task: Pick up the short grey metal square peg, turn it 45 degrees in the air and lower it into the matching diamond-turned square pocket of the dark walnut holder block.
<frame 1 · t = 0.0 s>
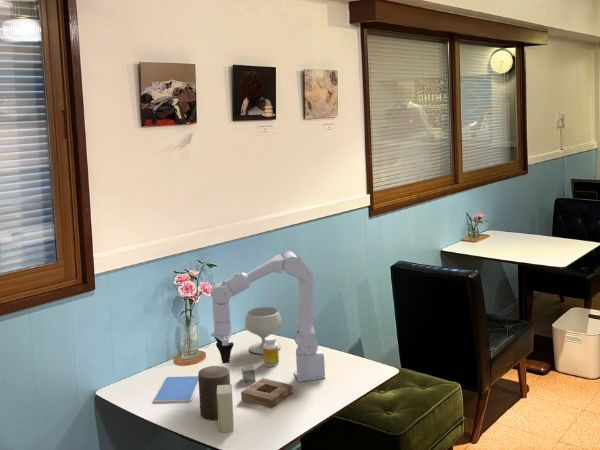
hand: (224, 358, 220), 10 cm above the table, tool pointing down, fingers open, 7 cm apart
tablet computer: (178, 391, 222), on the table
holder: (267, 397, 213), on the table
peg: (248, 380, 226), on the table
skincare box: (226, 427, 194), on the table
pillar candle: (216, 413, 204), on the table
supplement bottle: (271, 364, 240), on the table
chalice: (264, 349, 254), on the table
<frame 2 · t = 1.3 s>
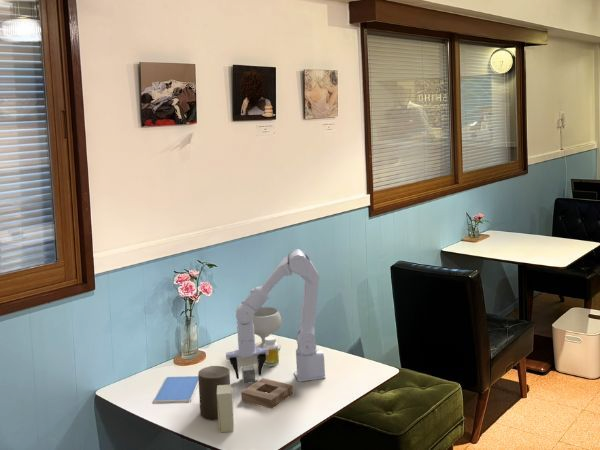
hand: (248, 376, 226), 1 cm above the table, tool pointing down, fingers open, 7 cm apart
nothing on the table moved.
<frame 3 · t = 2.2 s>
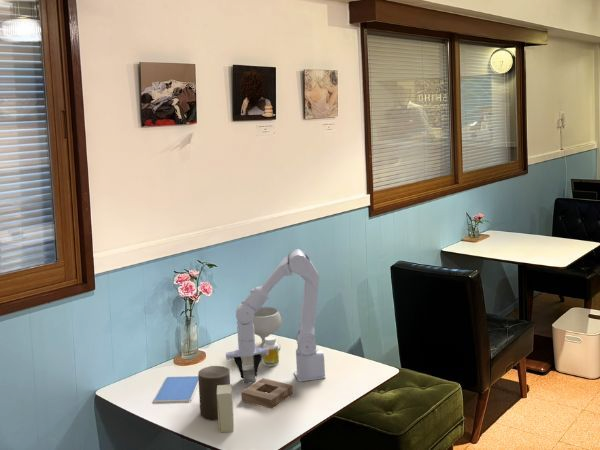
hand: (248, 376, 226), 1 cm above the table, tool pointing down, fingers closed on peg, 4 cm apart
peg: (248, 380, 226), on the table, touching gripper
everything else where it was.
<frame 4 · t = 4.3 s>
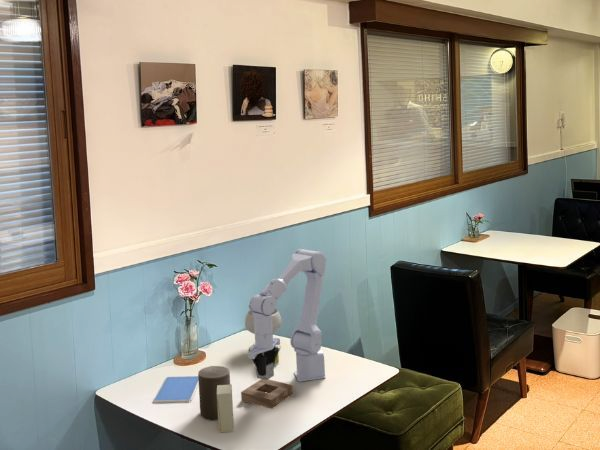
hand: (265, 372, 211), 8 cm above the table, tool pointing down, fingers closed on peg, 4 cm apart
peg: (265, 376, 212), point 7 cm above the table, touching gripper
everything else where it was.
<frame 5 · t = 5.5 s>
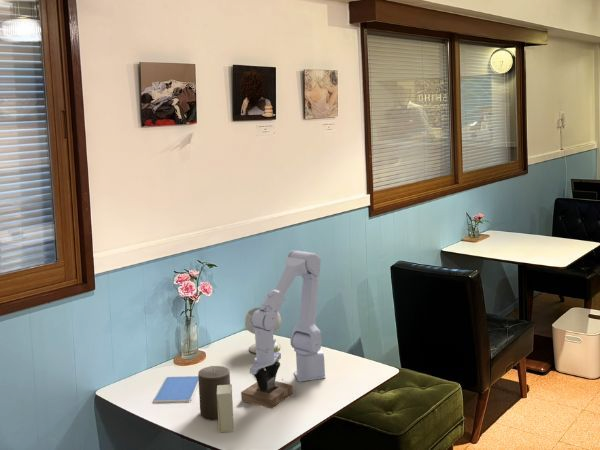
hand: (267, 387, 212), 4 cm above the table, tool pointing down, fingers closed on peg, 4 cm apart
peg: (266, 391, 213), point 2 cm above the table, touching gripper
everything else where it was.
when the fingers open (3 cm above the table, at t = 6.3 s): peg drops 2 cm, resting in holder.
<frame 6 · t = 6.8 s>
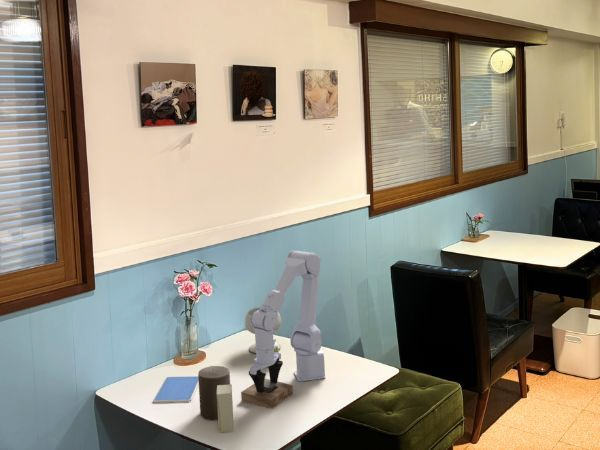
hand: (267, 387, 212), 3 cm above the table, tool pointing down, fingers open, 7 cm apart
peg: (267, 397, 213), resting in holder
everything else where it was.
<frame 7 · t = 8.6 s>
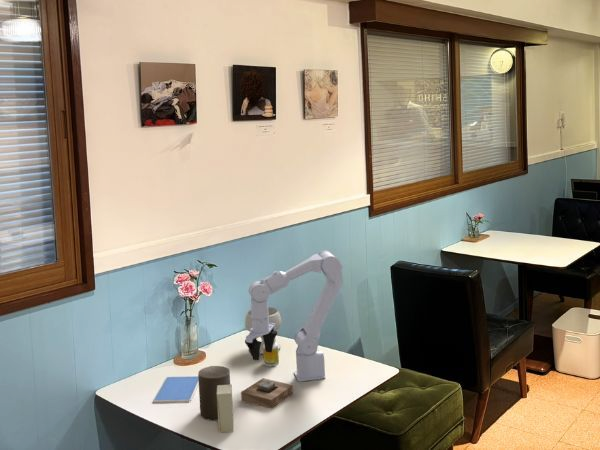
hand: (262, 355, 223), 9 cm above the table, tool pointing down, fingers open, 7 cm apart
nothing on the table moved.
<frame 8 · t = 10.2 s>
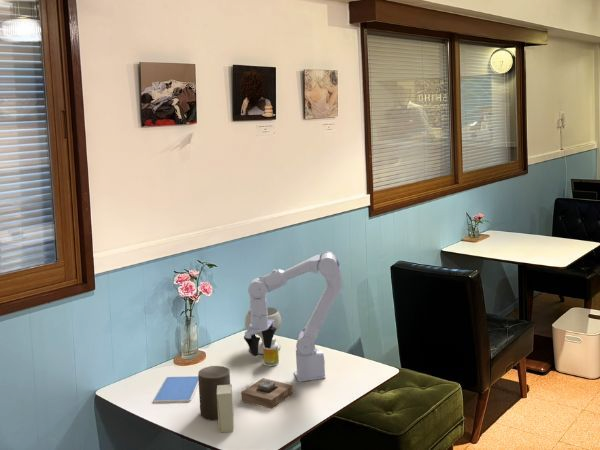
hand: (261, 351, 227), 9 cm above the table, tool pointing down, fingers open, 7 cm apart
nothing on the table moved.
at the end: peg 0.4 cm off-centre on the holder, point 0.0 cm above the holder's base; peg tilted 0°; the gripper is holding nothing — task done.
